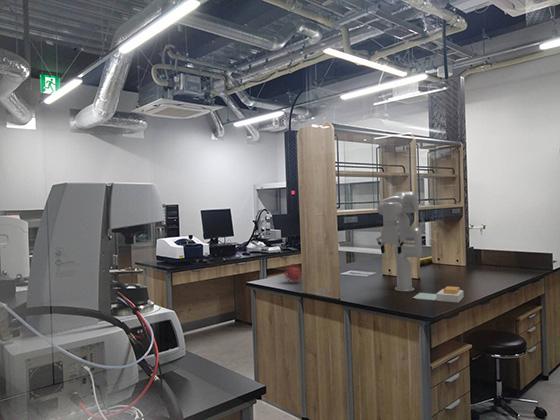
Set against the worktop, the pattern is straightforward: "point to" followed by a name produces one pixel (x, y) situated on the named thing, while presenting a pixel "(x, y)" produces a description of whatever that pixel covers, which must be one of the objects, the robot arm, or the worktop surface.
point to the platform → (449, 296)
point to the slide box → (451, 290)
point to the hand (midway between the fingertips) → (391, 253)
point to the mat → (425, 296)
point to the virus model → (293, 273)
